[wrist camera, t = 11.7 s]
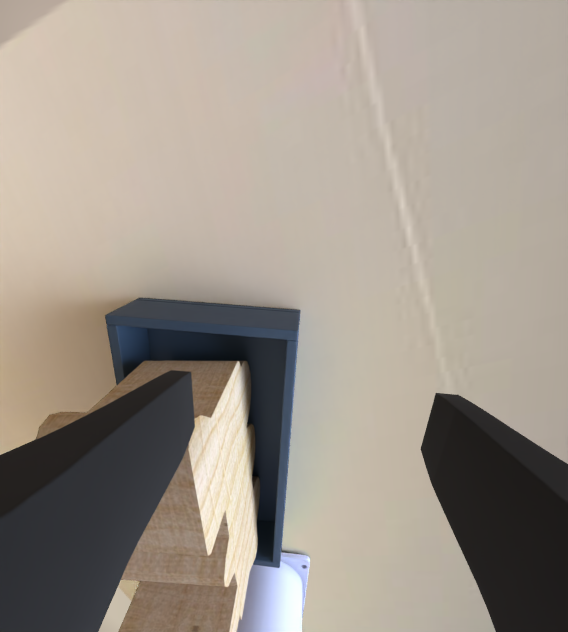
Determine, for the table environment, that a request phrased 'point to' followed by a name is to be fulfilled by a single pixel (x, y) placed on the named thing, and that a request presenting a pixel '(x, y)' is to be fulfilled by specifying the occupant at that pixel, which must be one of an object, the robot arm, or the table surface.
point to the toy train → (196, 508)
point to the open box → (226, 345)
